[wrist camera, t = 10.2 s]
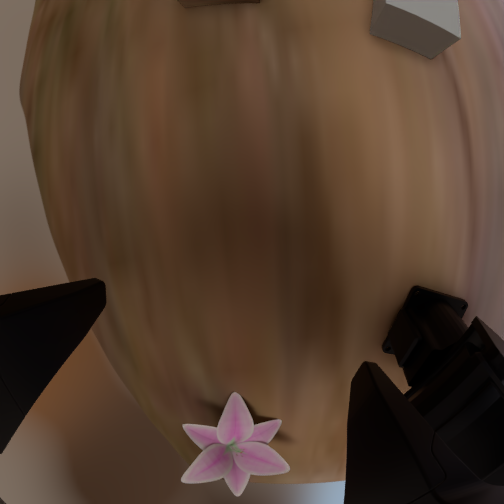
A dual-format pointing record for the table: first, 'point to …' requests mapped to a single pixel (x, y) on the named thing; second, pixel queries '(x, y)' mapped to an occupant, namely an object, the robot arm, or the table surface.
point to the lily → (234, 448)
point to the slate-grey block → (417, 24)
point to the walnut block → (212, 2)
